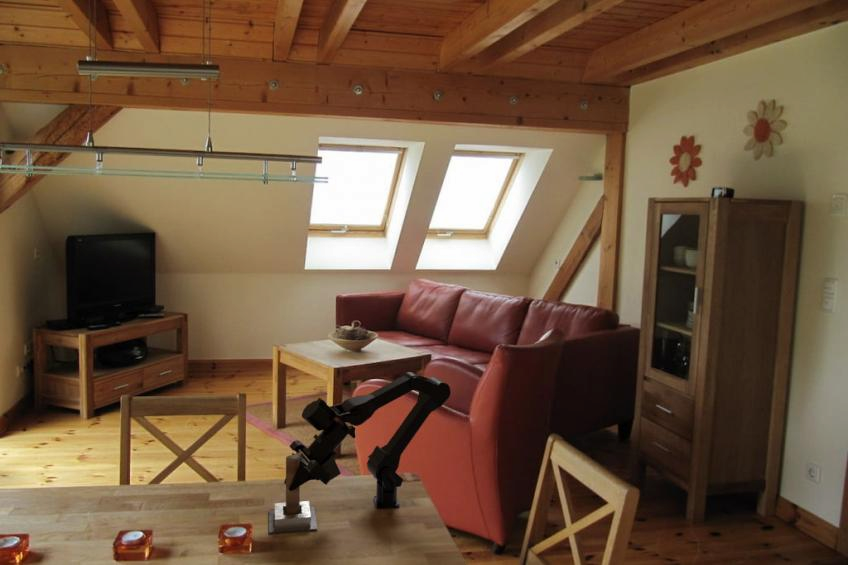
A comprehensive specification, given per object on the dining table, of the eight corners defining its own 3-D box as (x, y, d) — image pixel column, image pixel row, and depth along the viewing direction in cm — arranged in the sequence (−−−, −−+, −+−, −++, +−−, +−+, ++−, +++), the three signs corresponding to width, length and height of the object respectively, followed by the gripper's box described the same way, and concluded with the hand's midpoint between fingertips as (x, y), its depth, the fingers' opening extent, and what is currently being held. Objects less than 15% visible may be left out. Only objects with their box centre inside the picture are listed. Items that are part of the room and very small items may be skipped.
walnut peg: (287, 512, 185) (287, 454, 183) (300, 512, 185) (301, 455, 183) (284, 518, 182) (284, 460, 179) (297, 519, 182) (297, 460, 179)
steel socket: (268, 511, 188) (268, 500, 188) (314, 508, 191) (314, 498, 190) (268, 534, 177) (268, 522, 176) (316, 530, 179) (317, 519, 179)
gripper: (361, 471, 180) (320, 519, 177) (336, 444, 196) (297, 489, 193) (333, 446, 175) (289, 496, 172) (309, 421, 192) (269, 466, 188)
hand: (287, 487), depth 181 cm, fingers closed on walnut peg, 3 cm apart
